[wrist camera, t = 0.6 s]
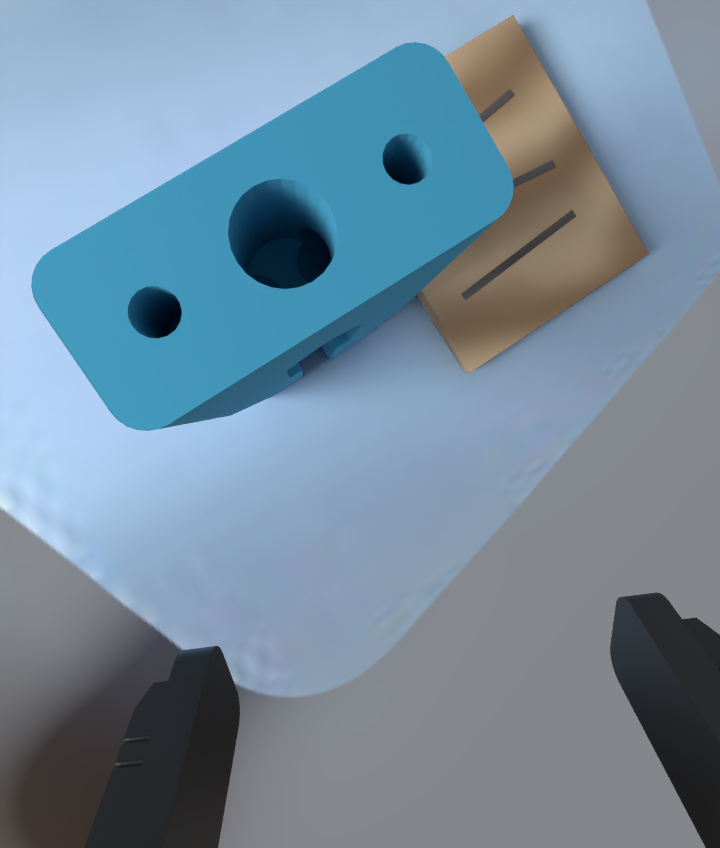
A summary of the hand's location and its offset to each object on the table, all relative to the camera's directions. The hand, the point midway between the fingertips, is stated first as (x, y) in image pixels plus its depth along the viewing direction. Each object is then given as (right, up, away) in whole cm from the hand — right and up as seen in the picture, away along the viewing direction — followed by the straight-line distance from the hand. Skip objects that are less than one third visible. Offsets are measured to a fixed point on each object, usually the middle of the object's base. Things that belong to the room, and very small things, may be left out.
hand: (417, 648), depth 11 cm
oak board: (+7, +19, +23) cm, 31 cm away
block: (-5, +10, +23) cm, 25 cm away
